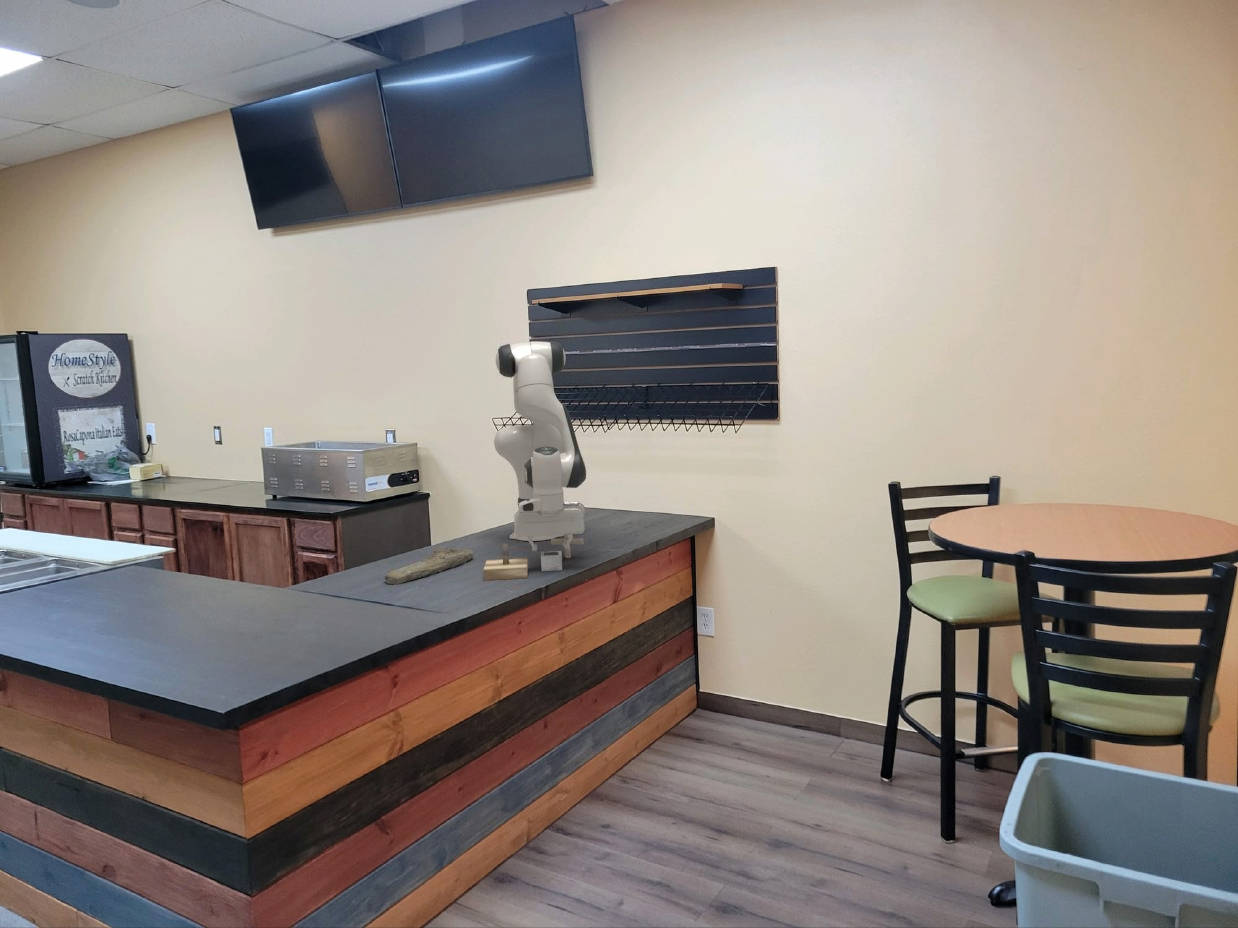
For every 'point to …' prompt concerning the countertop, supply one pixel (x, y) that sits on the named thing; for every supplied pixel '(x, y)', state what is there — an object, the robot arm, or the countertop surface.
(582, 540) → the pipe connector
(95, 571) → the countertop surface
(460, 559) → the long grey stone
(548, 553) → the silver square ring
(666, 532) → the countertop surface
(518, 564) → the shaft stand
